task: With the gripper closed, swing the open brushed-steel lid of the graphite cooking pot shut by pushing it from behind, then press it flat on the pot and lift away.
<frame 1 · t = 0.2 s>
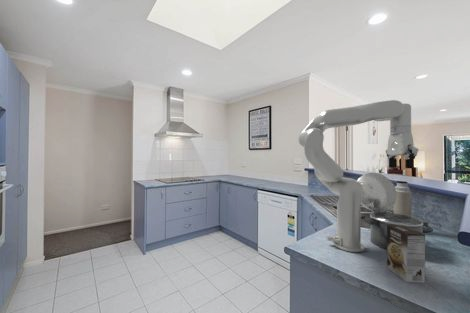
hand: (400, 167, 92), 37 cm above the worktop, tool pointing down, fingers open, 9 cm apart
lid: (374, 192, 109), point 22 cm above the worktop, hinge at 105.0°
coffee box: (404, 275, 70), on the worktop
thermos bottle: (402, 229, 116), on the worktop
pot: (394, 245, 94), on the worktop
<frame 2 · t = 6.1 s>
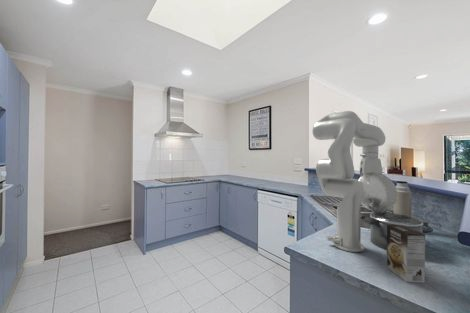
hand: (370, 188, 112), 24 cm above the worktop, tool pointing down, fingers closed
lid: (374, 192, 109), point 23 cm above the worktop, hinge at 102.4°, touching gripper
everything else where it was.
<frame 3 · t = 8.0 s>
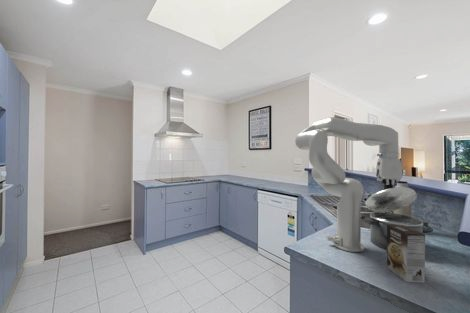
hand: (388, 192, 98), 24 cm above the worktop, tool pointing down, fingers closed
lid: (388, 198, 98), point 21 cm above the worktop, hinge at 41.8°
everything else where it was.
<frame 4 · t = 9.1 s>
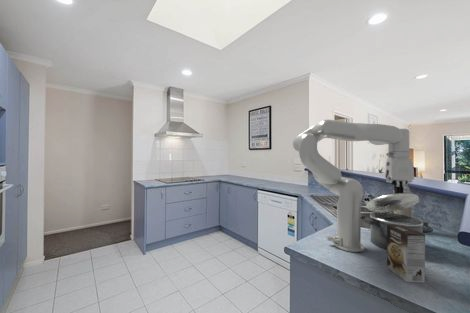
hand: (398, 195, 92), 24 cm above the worktop, tool pointing down, fingers closed
lid: (390, 201, 97), point 20 cm above the worktop, hinge at 33.4°, touching gripper
everything else where it was.
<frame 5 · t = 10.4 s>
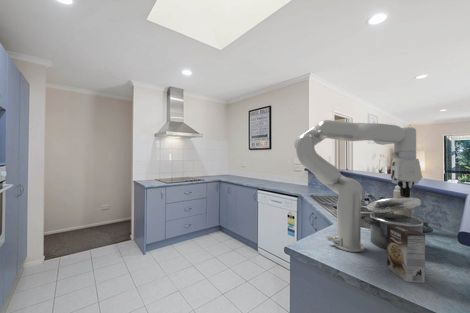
hand: (405, 196, 88), 24 cm above the worktop, tool pointing down, fingers closed
lid: (391, 203, 96), point 19 cm above the worktop, hinge at 28.1°, touching gripper
everything else where it was.
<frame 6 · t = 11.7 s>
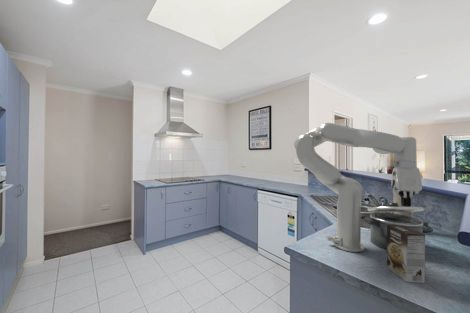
hand: (406, 206, 88), 20 cm above the worktop, tool pointing down, fingers closed
lid: (392, 207, 95), point 18 cm above the worktop, hinge at 16.7°, touching gripper
everything else where it was.
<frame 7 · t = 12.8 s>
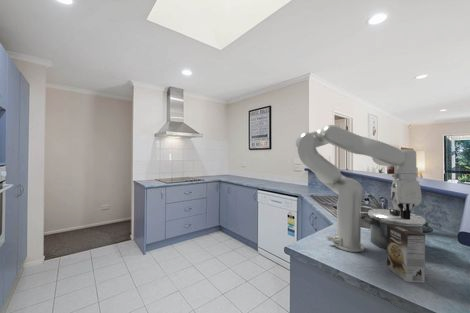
hand: (405, 218, 88), 14 cm above the worktop, tool pointing down, fingers closed
lid: (394, 213, 94), point 15 cm above the worktop, hinge at -0.1°, touching gripper
everything else where it was.
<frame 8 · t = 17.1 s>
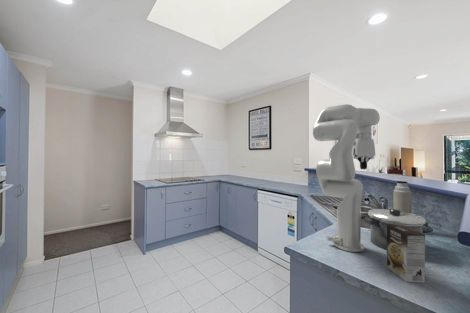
hand: (363, 169, 112), 35 cm above the worktop, tool pointing down, fingers closed
lid: (394, 213, 94), point 15 cm above the worktop, hinge at -0.1°
everything else where it was.
at the end: lid at +0° (first picture: +105°) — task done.
